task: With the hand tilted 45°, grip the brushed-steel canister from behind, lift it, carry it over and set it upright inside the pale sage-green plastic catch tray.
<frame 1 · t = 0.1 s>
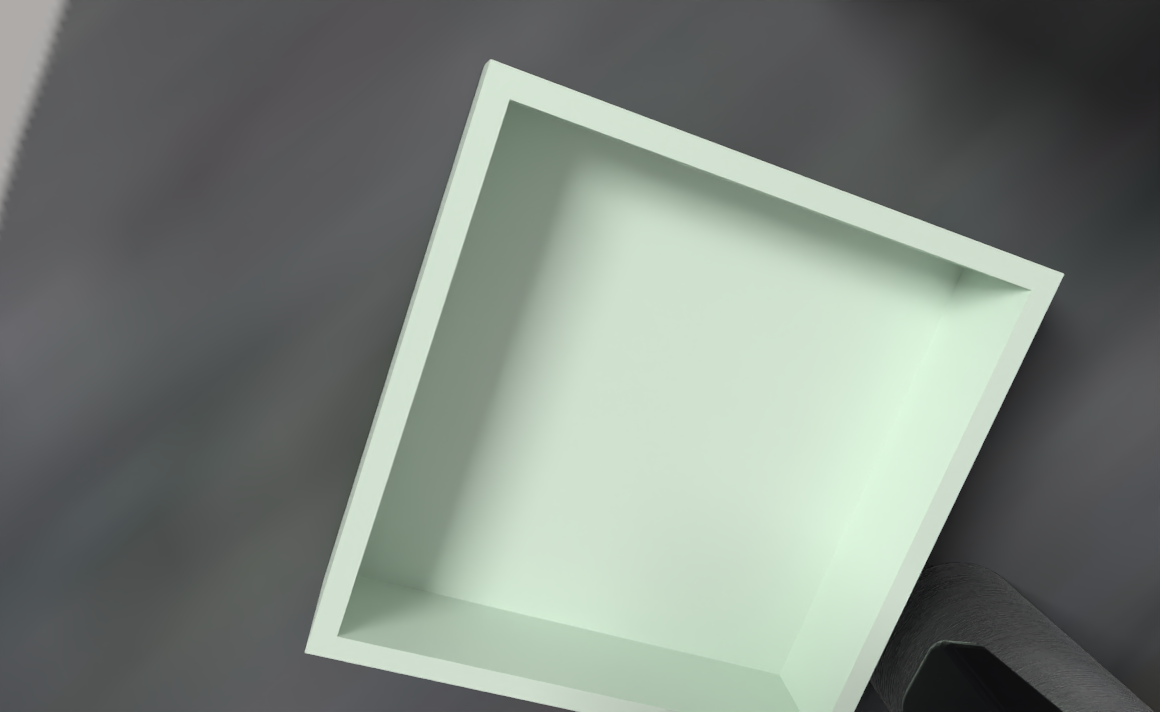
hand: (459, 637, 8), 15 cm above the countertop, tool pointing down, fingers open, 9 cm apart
catch tray: (652, 412, 24), on the countertop
steel canister: (942, 638, 28), on the countertop
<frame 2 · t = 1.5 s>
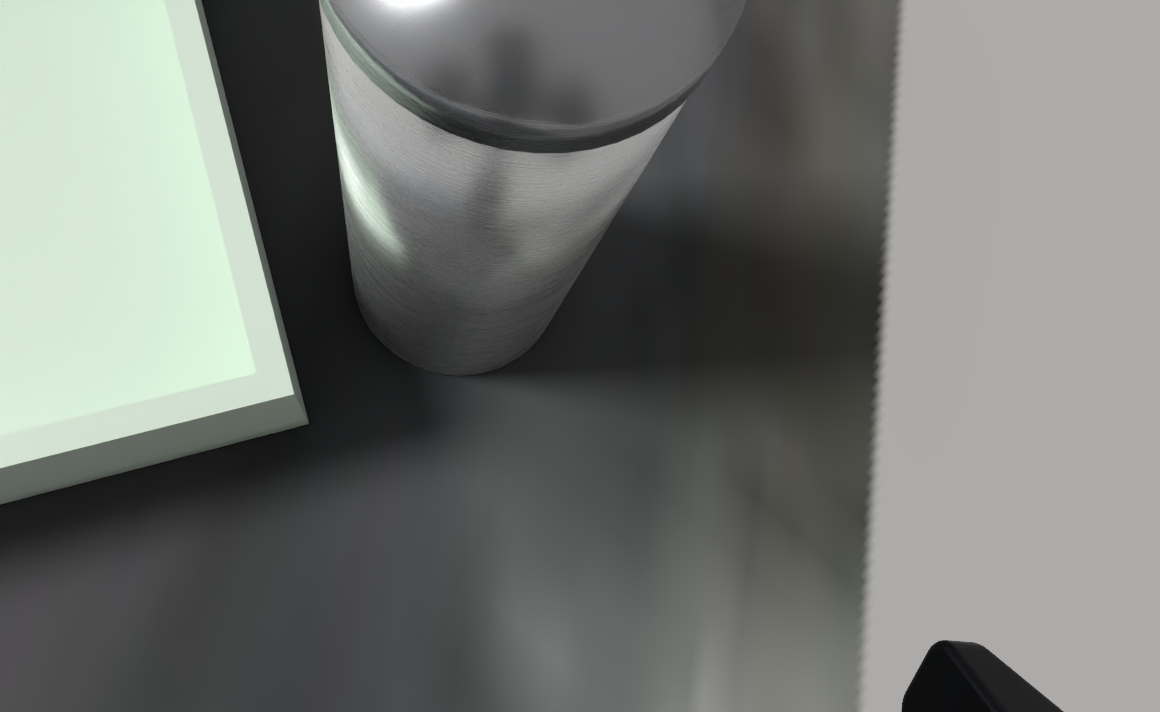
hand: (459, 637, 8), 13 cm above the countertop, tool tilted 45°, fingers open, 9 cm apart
steel canister: (458, 275, 23), on the countertop
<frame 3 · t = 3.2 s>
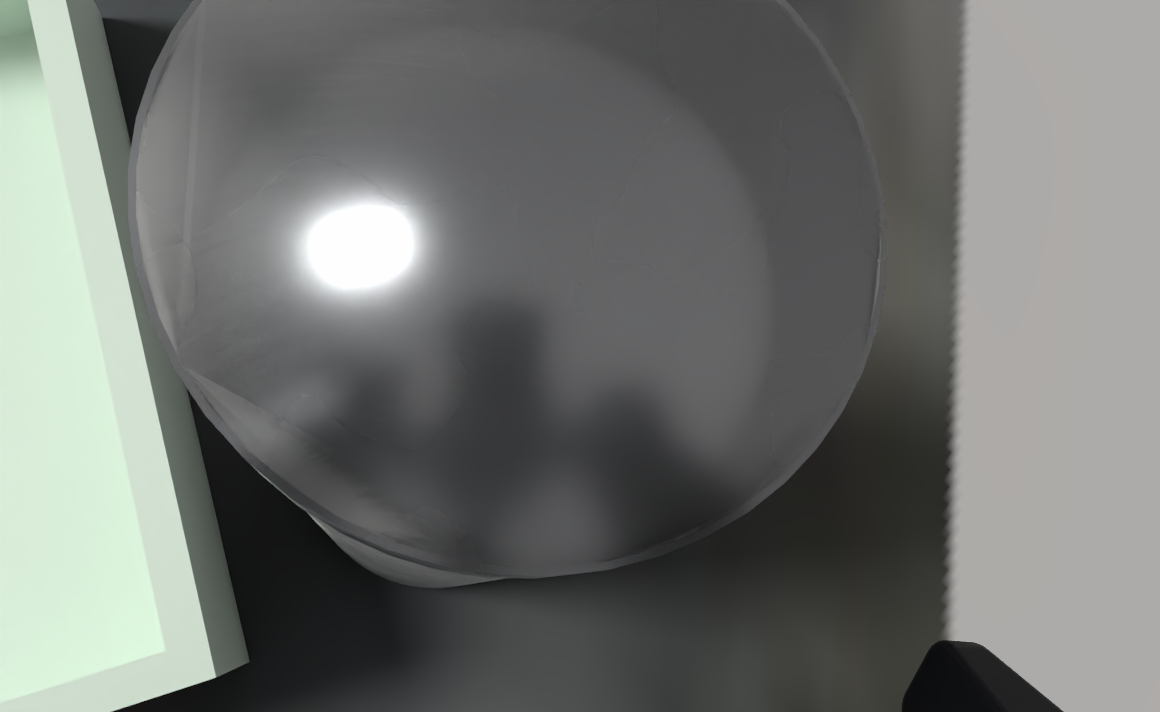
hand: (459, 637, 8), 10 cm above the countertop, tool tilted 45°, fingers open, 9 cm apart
steel canister: (438, 458, 19), on the countertop
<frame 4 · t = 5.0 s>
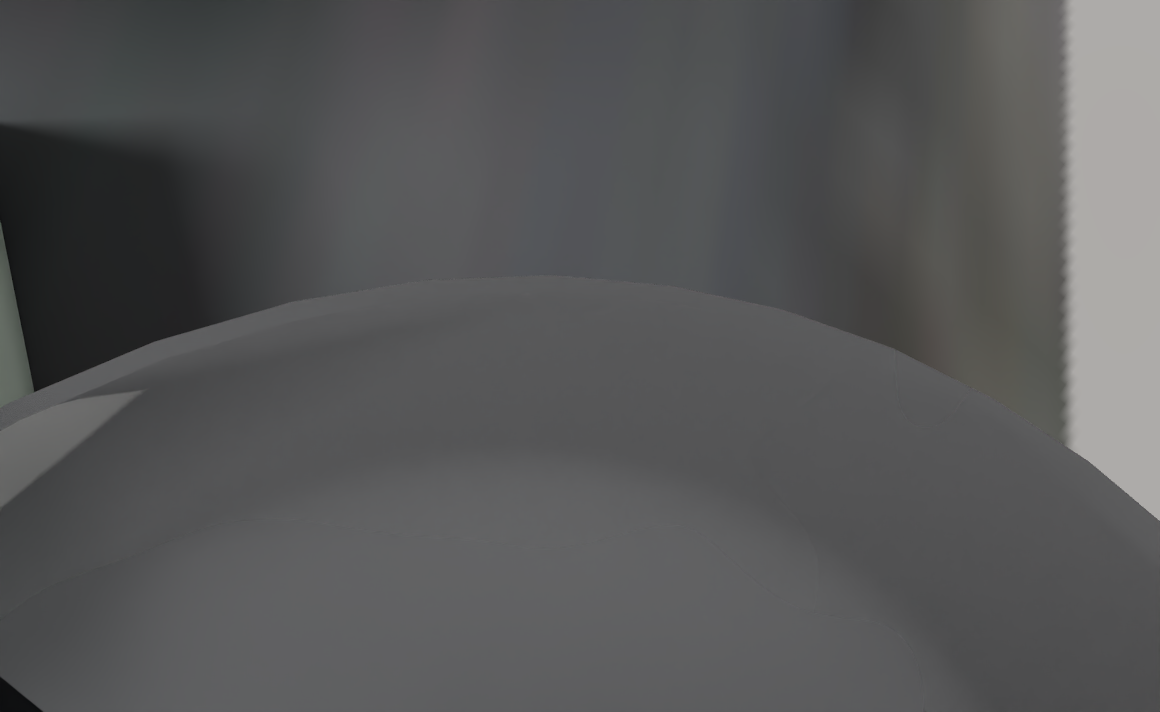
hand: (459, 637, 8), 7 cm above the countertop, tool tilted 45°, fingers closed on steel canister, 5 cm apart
steel canister: (416, 707, 14), on the countertop, touching gripper
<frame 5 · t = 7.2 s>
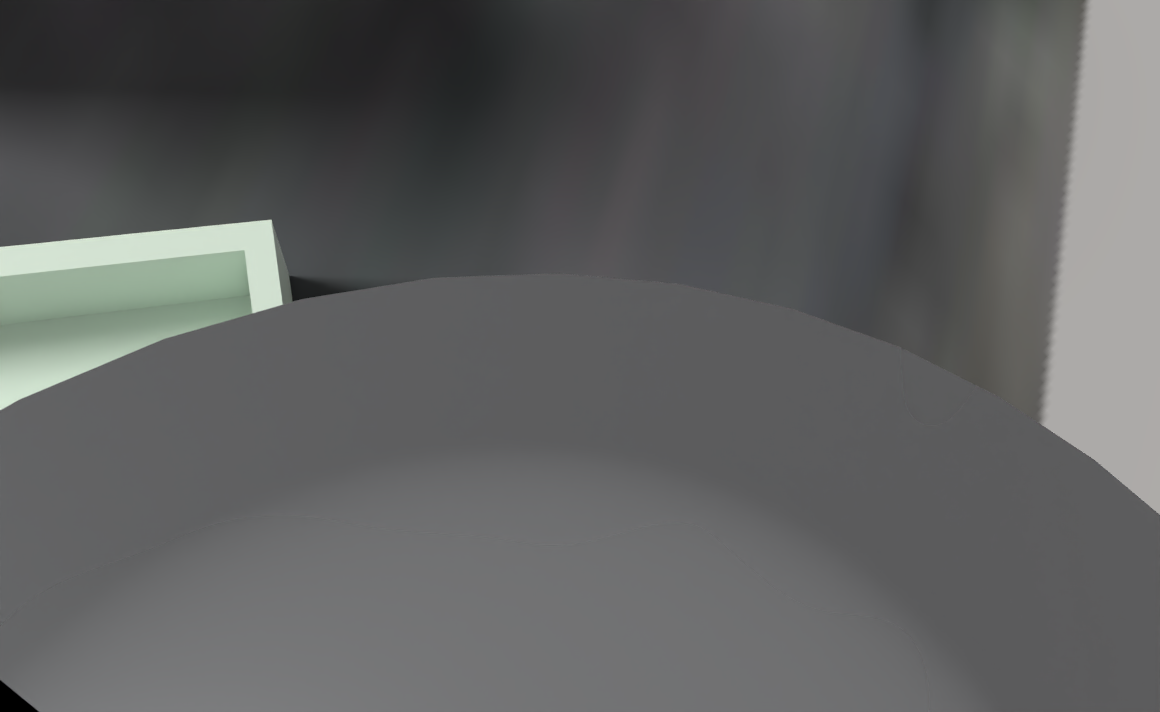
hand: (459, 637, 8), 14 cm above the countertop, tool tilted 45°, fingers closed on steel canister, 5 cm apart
steel canister: (417, 706, 14), point 7 cm above the countertop, touching gripper
when the fingers open (9 cm above the countertop, at t = 9.6 s): steel canister drops 1 cm, resting on catch tray.
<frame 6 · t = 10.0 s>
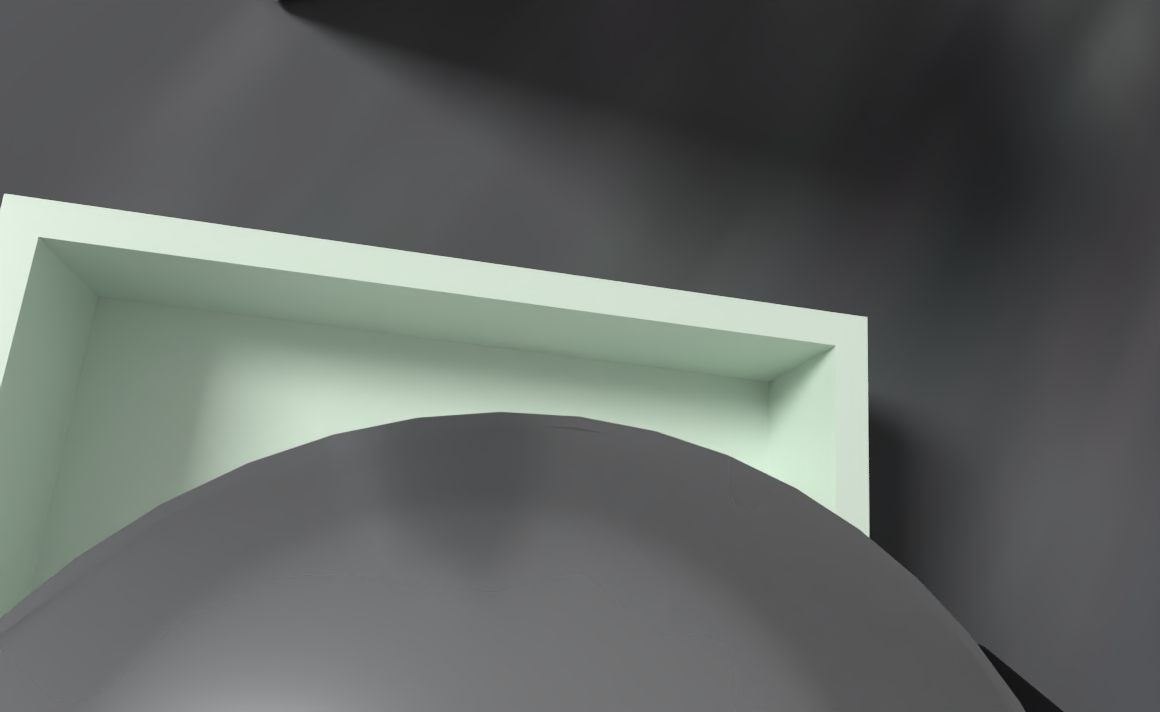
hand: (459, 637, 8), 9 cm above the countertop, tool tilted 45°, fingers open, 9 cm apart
catch tray: (413, 692, 16), on the countertop
steel canister: (413, 700, 16), point 1 cm above the countertop, touching catch tray
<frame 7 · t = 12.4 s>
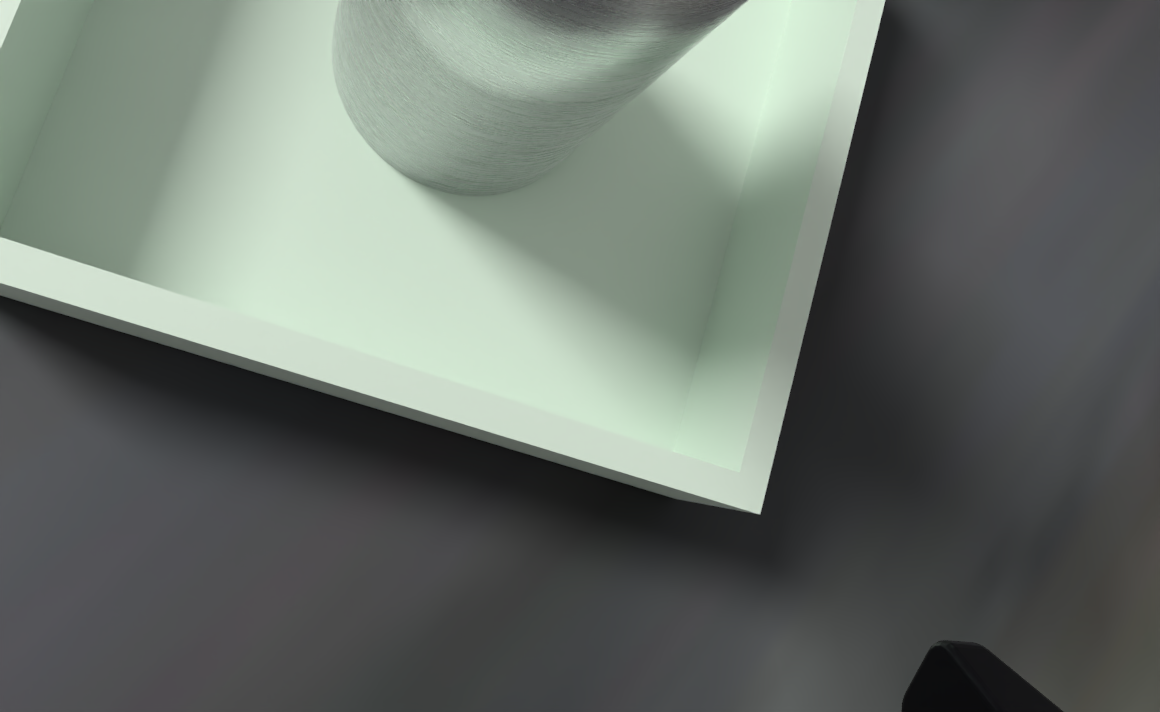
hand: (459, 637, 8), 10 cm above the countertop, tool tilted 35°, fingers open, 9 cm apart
catch tray: (462, 74, 18), on the countertop
steel canister: (467, 66, 18), point 1 cm above the countertop, touching catch tray
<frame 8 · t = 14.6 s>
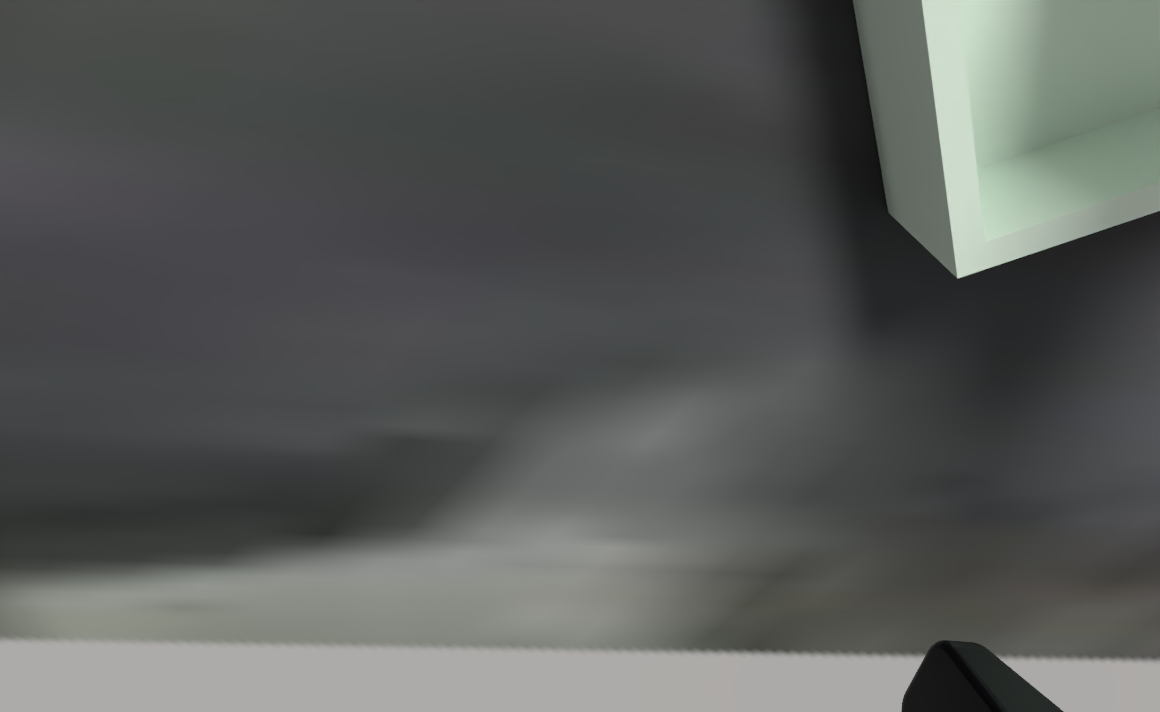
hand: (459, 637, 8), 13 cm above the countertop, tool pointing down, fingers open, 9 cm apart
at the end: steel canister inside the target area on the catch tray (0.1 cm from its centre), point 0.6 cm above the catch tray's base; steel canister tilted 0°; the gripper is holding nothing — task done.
